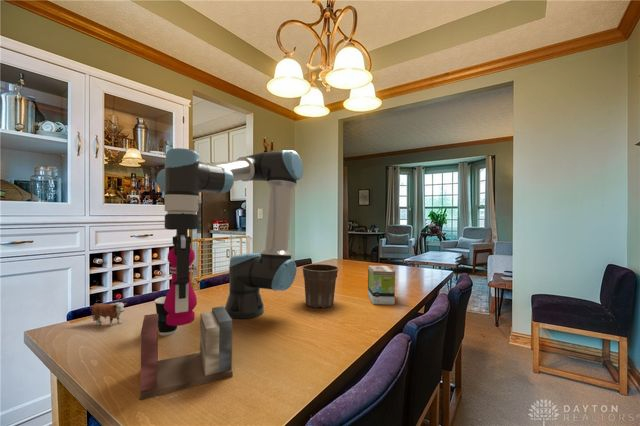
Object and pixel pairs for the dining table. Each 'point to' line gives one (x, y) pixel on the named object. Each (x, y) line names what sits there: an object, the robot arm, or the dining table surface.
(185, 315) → the pepper mill
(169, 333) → the dixie cup
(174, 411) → the dining table surface
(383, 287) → the tea box
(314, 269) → the plant pot
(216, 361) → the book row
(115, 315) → the bull figurine
